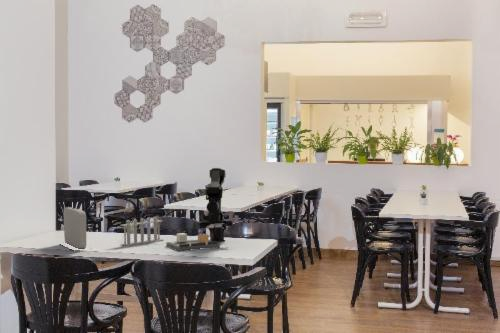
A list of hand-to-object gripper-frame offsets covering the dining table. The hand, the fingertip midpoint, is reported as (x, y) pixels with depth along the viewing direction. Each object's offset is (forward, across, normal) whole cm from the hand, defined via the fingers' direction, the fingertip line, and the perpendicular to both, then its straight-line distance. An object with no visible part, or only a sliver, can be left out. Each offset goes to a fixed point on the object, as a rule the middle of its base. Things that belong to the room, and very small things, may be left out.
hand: (214, 240), depth 374 cm
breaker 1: (+1, +14, -9) cm, 17 cm away
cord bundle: (+1, +10, +4) cm, 11 cm away
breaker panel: (+3, +10, -4) cm, 12 cm away
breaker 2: (+1, +6, 0) cm, 6 cm away
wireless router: (+3, +63, -35) cm, 73 cm away
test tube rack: (+3, +29, -30) cm, 42 cm away
